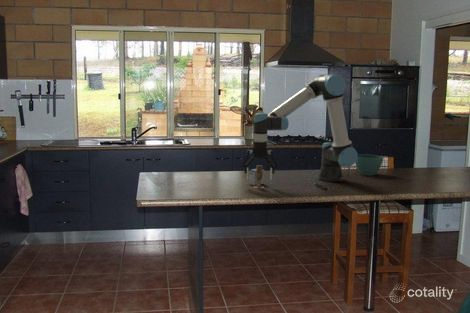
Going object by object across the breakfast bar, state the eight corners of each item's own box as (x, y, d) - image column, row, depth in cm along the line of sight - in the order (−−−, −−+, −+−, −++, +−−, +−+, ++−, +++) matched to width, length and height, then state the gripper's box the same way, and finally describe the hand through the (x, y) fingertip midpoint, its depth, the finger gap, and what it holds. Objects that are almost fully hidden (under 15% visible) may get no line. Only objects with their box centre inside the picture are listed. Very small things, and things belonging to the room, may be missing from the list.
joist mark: (264, 187, 283) (264, 186, 283) (264, 188, 280) (264, 187, 280) (253, 187, 283) (253, 186, 283) (253, 188, 280) (253, 187, 280)
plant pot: (385, 174, 335) (386, 156, 333) (377, 178, 320) (378, 159, 318) (358, 171, 345) (359, 153, 343) (349, 175, 329) (350, 156, 328)
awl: (262, 186, 283) (262, 165, 281) (262, 187, 280) (262, 166, 278) (255, 186, 283) (256, 165, 281) (256, 187, 280) (256, 166, 278)
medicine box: (258, 183, 296) (259, 168, 295) (264, 184, 292) (264, 169, 291) (249, 184, 290) (249, 169, 289) (254, 185, 287) (254, 170, 286)
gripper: (282, 141, 282) (280, 178, 284) (237, 140, 282) (237, 177, 285) (283, 142, 274) (281, 181, 277) (237, 141, 274) (237, 180, 277)
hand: (259, 179), depth 281 cm, fingers open, 12 cm apart
